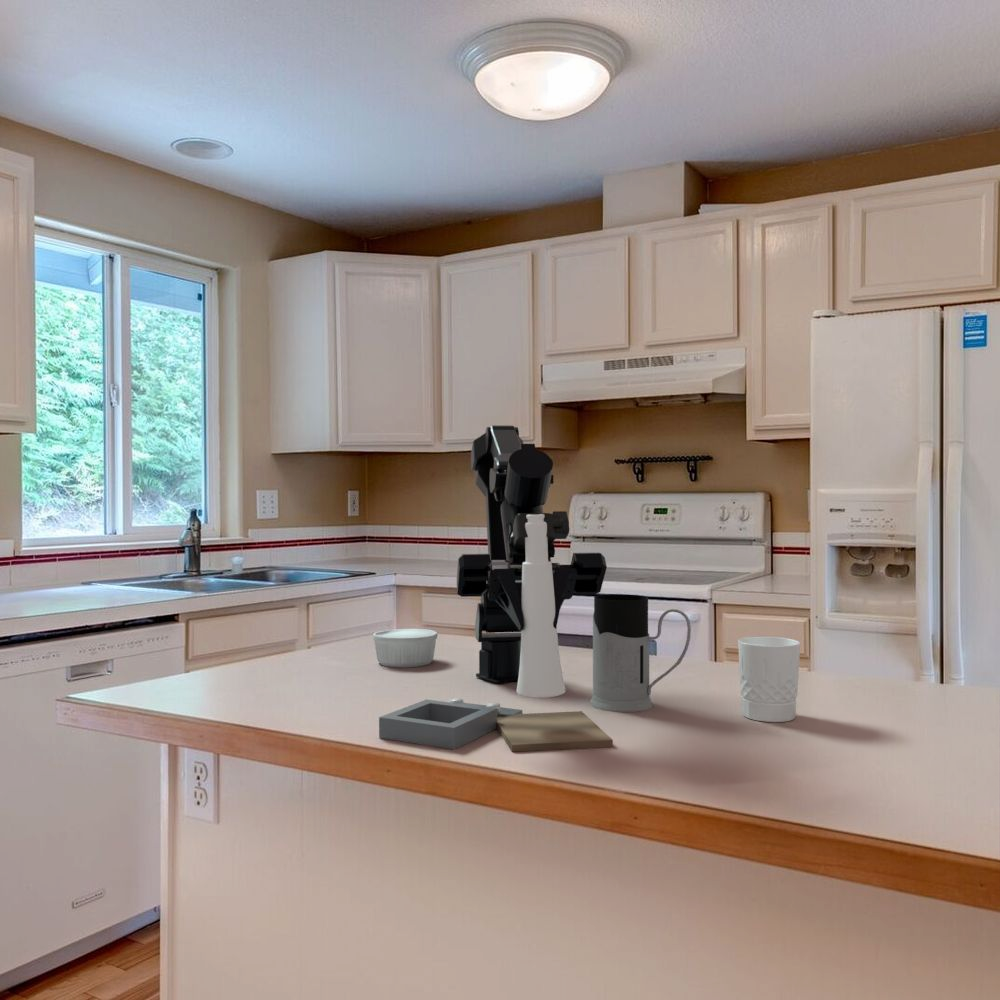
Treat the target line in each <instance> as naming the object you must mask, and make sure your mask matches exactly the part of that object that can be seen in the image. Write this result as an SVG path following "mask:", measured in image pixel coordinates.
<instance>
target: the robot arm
mask: <svg viewBox="0 0 1000 1000" xmlns="http://www.w3.org/2000/svg"><path fill="white" fill-rule="evenodd" d="M519 432H520V431H519V427H518V426H514V425H510V424H508V425H496V424H495V425H494V424H493V425H492V424H491V425H490V426H487V427H486V428H485V433H483V434H482V435H480V436H478V437H477V438H476V439H474V440H473V441H472V446H471V451H470V469H471V470H470V471H471V472H474V477H475V485H476V486H477V488H478V489H479V490H480V491H481V493H482V495H483V496H484V497H485V514H486V515H485V516H486V533H487V537H486V538H487V553H462V554H461V555H460V556H459V557H458V559H457V567H456V568H457V569H456V593H457V594H456V595H458V596H460V597H461V598H463V597H464V598H467V597H472V598H473V597H480V603H477V605H476V607H477V608H476V613H475V614H476V615H475V621H474V622H475V623H474V628H475V629H474V631H475V639H476V640H477V642H478V643H481V644H480V646H481V647H480V648H481V649H479V651H478V653H479V654H478V656H479V657H478V662H479V666H478V672H477V673H475V677H476V678H479V679H483V680H486V681H489V682H492V683H496V684H503V683H509V682H518V677H519V667H520V652H521V630H523V627H524V623H523V614H522V563H523V562H526V556H525V537H528V535H527V532H526V528H525V523H526V522H528V519H527V518H526V515H529V514H530V515H539V514H544V517H545V518H544V522H546V523H547V535H546V537H547V541H548V561H550V562H551V563H552V573H553V585H554V597H555V618H554V622H553V626H554V628H555V629H556V626H557V625H558V622H559V621H558V620H559V617H560V616H559V615H560V611H561V608H562V606H563V603H564V601H565V600H570V599H572V598H573V595H576V596H581V595H589V596H590V595H593V596H594V595H595V596H596V595H597V594H599V593H601V591H602V588H603V587H602V586H603V584H604V583H603V582H604V580H605V575H606V571H607V567H608V566H607V562H606V557H605V556H604V555H603V554H602V553H601V552H573V553H572V556H571V561H570V564H560V562H552V559H551V558H554V557H555V555H556V549H555V543H554V541H555V540H566V539H567V538H568V536H569V534H570V522H569V516H568V515H569V514H568V512H567V511H566V510H565V511H564V510H563V511H562V510H559V511H558V510H557V511H556V510H555V511H552V513H550V512H544V509H543V506H544V505H545V504H546V503H547V500H548V495H549V491H550V487H551V485H553V484H554V474H552V473H553V467H554V461H553V459H552V458H551V457H550V455H548V454H547V453H546V452H544V451H542V450H540V449H537V448H536V445H535V443H524V440H523V439H522V438H521V437H520V433H519ZM557 627H558V626H557Z"/></svg>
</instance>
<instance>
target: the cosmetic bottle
mask: <svg viewBox="0 0 1000 1000" xmlns="http://www.w3.org/2000/svg"><path fill="white" fill-rule="evenodd" d="M526 518H527V519H528V522H526V523H525V528H526V532H527V535H528V537H525V556H526V562H523V563H522V614H523V623H524V627H523V630H521V632H520V633H521V652H520V667H519V677H518V680H517V684H516V685H517V686H516V693H517V695H519V696H521V697H524V698H533V699H545V698H547V699H548V698H554V697H555V698H556V697H558V696H559V697H560V696H561V695H563V694H565V693H566V685H565V681H564V676H563V670H562V664H561V655H560V648H559V639H558V626H556V629H555V628H554V626H553V622H554V618H555V597H554V585H553V573H552V563H553V562H552V561H551V562H550V561H548V541H547V537H546V535H547V523H546V522H544V518H545V517H544V514H539V515H530V514H529V515H526Z"/></svg>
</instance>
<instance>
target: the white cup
mask: <svg viewBox="0 0 1000 1000" xmlns="http://www.w3.org/2000/svg"><path fill="white" fill-rule="evenodd" d="M737 645H738V646H737V647H738V648H737V649H738V666H739V667H738V668H739V669H738V671H739V686H740V696H741V703H742V704H741V705H742V706H741V708H742V712H741V713H742V715H743V717H745V718H747V719H750V720H753V721H758V722H764V723H785V722H791V721H793V720H794V719H795V718H796V714H797V712H796V711H797V697H798V690H799V688H798V686H799V676H800V675H799V673H800V656H801V655H800V653H801V652H800V651H801V642H800V641H799V640H796V639H792V638H787V637H779V636H778V637H776V636H763V635H762V636H747V637H741V638H739V639H738V640H737Z"/></svg>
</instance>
